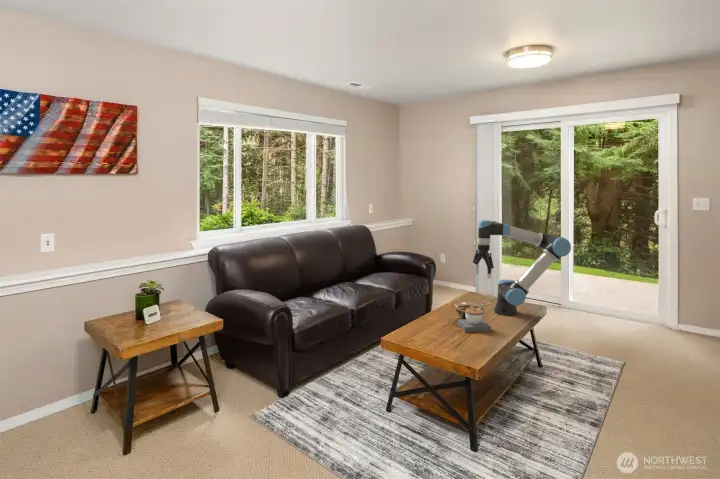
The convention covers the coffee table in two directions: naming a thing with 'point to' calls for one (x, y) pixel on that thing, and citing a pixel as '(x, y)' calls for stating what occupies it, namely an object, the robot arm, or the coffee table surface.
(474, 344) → the coffee table surface
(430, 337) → the coffee table surface
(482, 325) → the block
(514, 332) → the coffee table surface
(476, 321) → the lidded jar
